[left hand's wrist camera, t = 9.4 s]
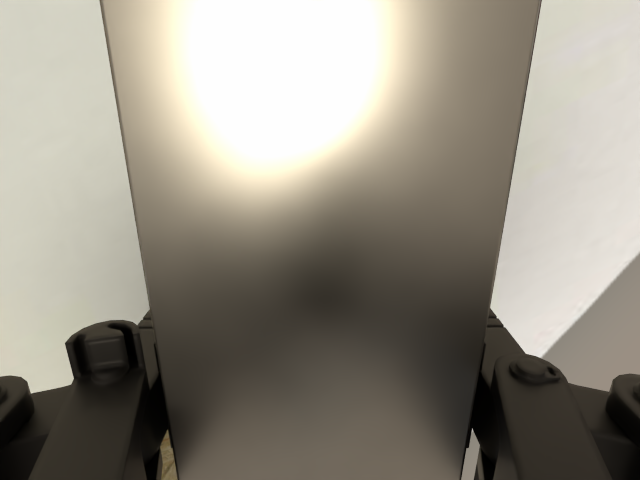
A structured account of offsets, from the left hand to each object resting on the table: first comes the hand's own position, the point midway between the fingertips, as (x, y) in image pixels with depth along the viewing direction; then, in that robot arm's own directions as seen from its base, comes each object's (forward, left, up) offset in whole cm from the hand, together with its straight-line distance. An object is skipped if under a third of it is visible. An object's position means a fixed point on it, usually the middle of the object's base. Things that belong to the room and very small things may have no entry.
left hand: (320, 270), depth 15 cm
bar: (+7, +4, -1) cm, 9 cm away
